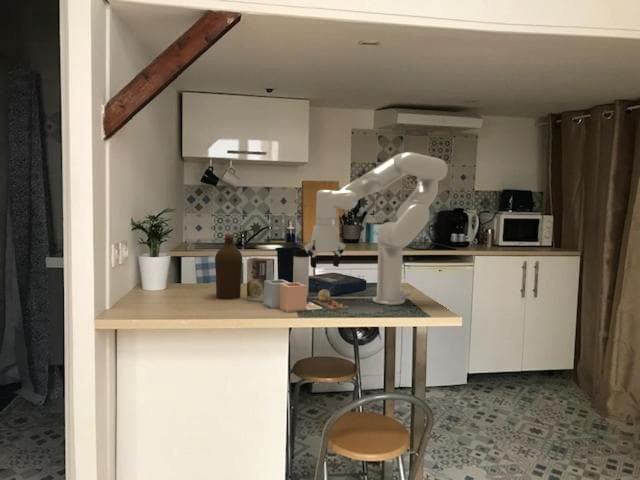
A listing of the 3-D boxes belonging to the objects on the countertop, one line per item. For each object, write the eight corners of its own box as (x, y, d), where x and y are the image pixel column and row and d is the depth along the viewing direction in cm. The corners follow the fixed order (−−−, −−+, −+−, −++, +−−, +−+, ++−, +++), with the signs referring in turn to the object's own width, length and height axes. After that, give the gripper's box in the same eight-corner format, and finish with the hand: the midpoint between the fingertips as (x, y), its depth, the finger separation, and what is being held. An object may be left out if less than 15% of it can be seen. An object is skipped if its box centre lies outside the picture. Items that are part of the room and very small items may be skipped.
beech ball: (326, 299, 198) (326, 288, 197) (332, 301, 193) (332, 290, 193) (315, 300, 195) (316, 288, 195) (321, 302, 191) (321, 290, 191)
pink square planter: (297, 306, 187) (298, 282, 186) (306, 310, 180) (306, 285, 179) (279, 307, 183) (279, 283, 183) (287, 312, 177) (287, 286, 176)
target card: (310, 303, 193) (310, 299, 193) (322, 309, 184) (322, 304, 184) (295, 305, 190) (295, 300, 190) (307, 310, 181) (307, 305, 181)
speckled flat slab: (328, 300, 199) (328, 296, 199) (348, 308, 186) (348, 304, 186) (312, 301, 196) (313, 297, 196) (332, 309, 183) (332, 306, 182)
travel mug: (302, 299, 199) (303, 249, 198) (289, 297, 203) (290, 247, 201) (311, 297, 204) (313, 248, 202) (299, 295, 208) (300, 246, 206)
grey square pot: (282, 302, 192) (282, 279, 191) (290, 306, 186) (290, 282, 185) (263, 304, 189) (264, 280, 188) (271, 308, 182) (271, 283, 181)
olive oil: (231, 300, 193) (232, 236, 191) (209, 297, 198) (209, 234, 196) (247, 296, 202) (248, 234, 200) (225, 293, 207) (226, 232, 205)
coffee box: (274, 299, 198) (275, 258, 196) (266, 302, 192) (266, 260, 191) (254, 297, 202) (255, 257, 200) (245, 299, 196) (246, 258, 194)
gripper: (340, 221, 199) (339, 264, 201) (301, 221, 191) (300, 266, 193) (350, 222, 192) (349, 267, 194) (309, 223, 184) (308, 269, 186)
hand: (324, 266), depth 193 cm, fingers open, 9 cm apart
